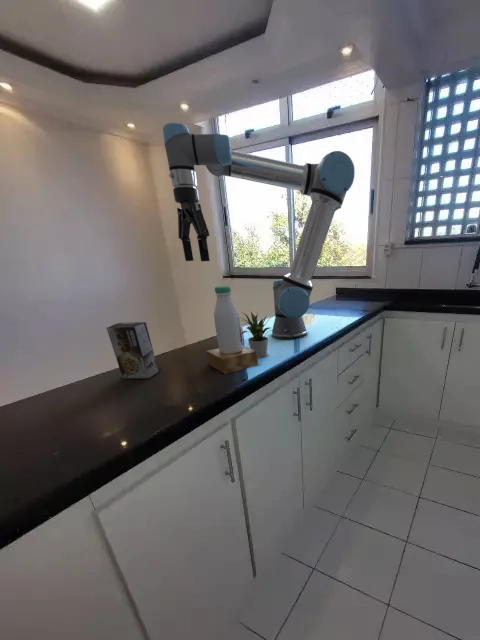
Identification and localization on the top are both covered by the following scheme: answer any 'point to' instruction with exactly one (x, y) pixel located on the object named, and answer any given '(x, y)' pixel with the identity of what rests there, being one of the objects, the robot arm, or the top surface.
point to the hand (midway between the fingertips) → (197, 261)
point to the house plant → (257, 335)
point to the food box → (133, 349)
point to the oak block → (232, 360)
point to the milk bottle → (227, 322)
